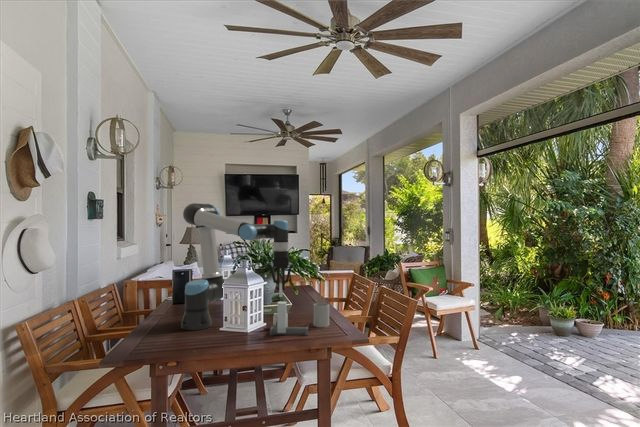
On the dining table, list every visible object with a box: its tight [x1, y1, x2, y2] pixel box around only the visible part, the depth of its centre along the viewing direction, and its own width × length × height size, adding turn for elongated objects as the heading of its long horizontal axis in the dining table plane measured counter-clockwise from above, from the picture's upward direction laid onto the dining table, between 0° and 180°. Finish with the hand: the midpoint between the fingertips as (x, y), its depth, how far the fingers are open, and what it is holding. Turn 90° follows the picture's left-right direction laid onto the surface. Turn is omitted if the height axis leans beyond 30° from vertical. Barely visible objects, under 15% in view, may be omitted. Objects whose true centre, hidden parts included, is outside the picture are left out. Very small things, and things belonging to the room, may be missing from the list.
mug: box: [312, 302, 330, 328], centre depth 204 cm, size 12×8×11 cm
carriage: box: [276, 301, 287, 333], centre depth 186 cm, size 4×4×14 cm
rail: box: [269, 325, 309, 336], centre depth 186 cm, size 18×4×3 cm, turn 92°
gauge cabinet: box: [272, 312, 289, 327], centre depth 195 cm, size 7×6×7 cm
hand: (280, 296), depth 196 cm, fingers closed
